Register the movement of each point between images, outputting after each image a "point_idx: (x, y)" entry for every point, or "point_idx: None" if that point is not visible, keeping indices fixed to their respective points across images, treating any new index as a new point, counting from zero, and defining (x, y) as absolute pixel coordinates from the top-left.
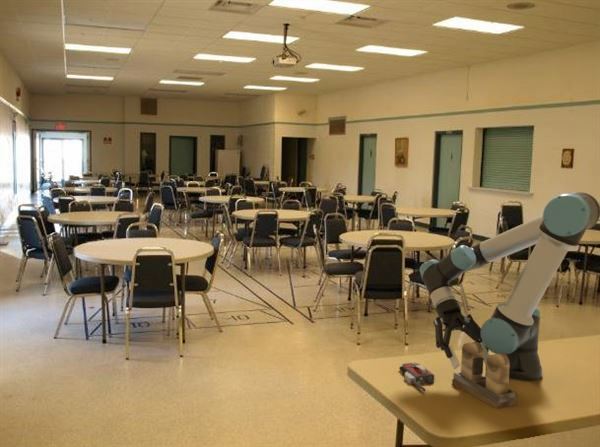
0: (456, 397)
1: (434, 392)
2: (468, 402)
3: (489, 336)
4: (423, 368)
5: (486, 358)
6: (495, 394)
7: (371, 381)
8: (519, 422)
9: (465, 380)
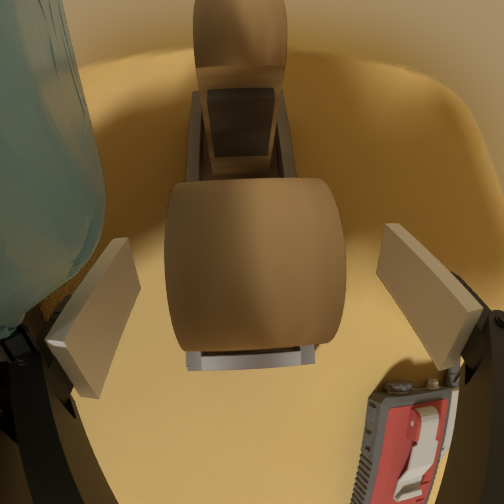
0: (367, 224)
1: None
2: (346, 176)
3: (63, 98)
4: (427, 426)
5: (124, 274)
6: (280, 99)
7: None
8: None
9: None
